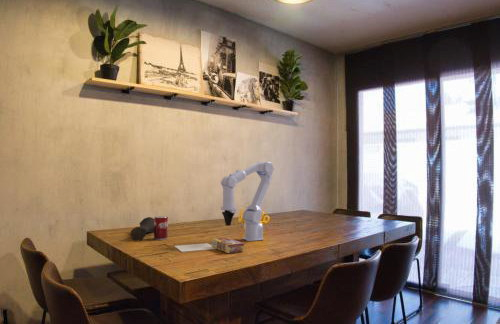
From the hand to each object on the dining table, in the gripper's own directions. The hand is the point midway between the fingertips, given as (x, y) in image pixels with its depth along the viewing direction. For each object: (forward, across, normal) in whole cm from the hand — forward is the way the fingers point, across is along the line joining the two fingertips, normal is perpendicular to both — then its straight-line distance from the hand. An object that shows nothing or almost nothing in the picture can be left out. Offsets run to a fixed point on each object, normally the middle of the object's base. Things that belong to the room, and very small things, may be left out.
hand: (228, 225), depth 176 cm
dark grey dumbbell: (+9, -36, -35) cm, 51 cm away
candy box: (+7, +7, -8) cm, 12 cm away
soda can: (+9, -24, -29) cm, 39 cm away
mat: (+9, +5, -19) cm, 22 cm away
